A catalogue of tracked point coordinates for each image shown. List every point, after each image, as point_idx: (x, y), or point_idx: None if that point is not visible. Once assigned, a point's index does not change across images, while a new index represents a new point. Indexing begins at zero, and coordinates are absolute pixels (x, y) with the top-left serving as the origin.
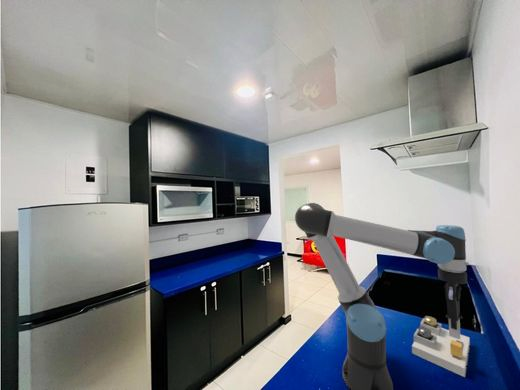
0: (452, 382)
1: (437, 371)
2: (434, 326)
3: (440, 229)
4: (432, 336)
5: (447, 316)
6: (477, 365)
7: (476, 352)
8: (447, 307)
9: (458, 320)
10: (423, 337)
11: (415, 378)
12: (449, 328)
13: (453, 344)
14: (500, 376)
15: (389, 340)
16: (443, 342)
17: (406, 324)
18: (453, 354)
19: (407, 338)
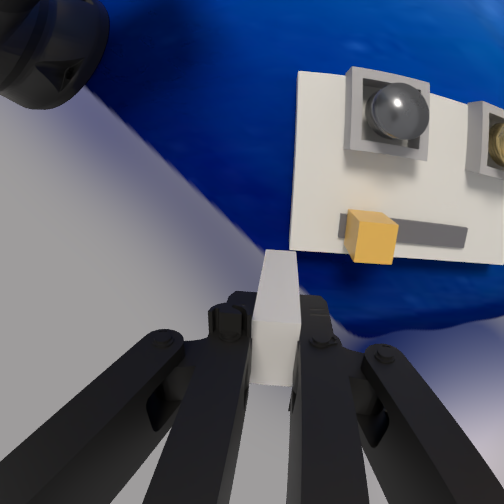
0: (232, 207)
1: (255, 164)
2: (495, 158)
3: None
4: (417, 144)
5: (155, 334)
6: (392, 270)
7: (461, 269)
8: (56, 418)
9: (250, 379)
10: (367, 107)
11: (158, 118)
12: (262, 272)
13: (358, 233)
14: (373, 316)
15: (320, 4)
16: (428, 183)
17: (488, 64)
18: (347, 219)
19: (397, 58)
